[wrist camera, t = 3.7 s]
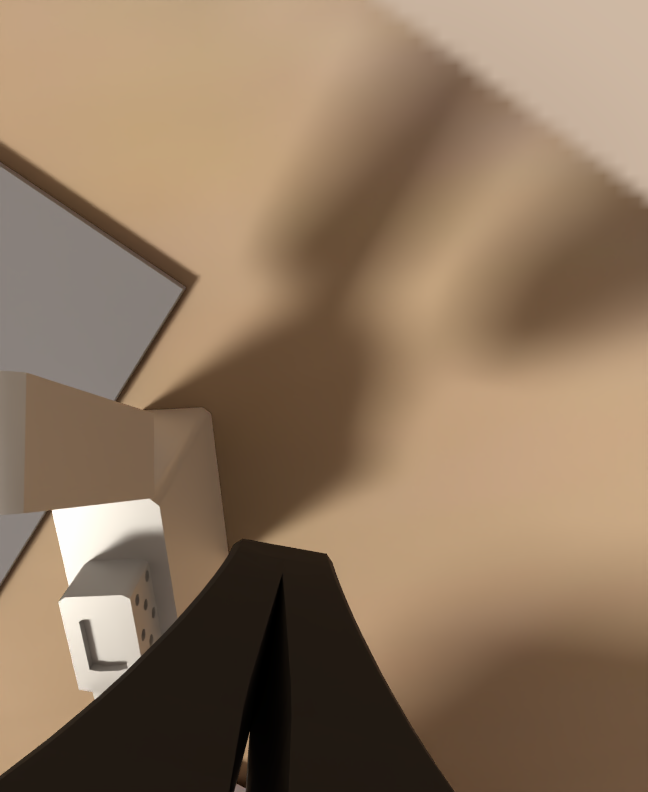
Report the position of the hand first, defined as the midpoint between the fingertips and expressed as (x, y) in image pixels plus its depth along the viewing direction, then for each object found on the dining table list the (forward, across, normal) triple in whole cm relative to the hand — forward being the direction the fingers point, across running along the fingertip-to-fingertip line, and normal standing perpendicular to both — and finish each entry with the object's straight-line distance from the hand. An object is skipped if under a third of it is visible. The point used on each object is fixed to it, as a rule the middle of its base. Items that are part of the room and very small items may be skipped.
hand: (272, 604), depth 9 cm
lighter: (+6, +3, 0) cm, 6 cm away
